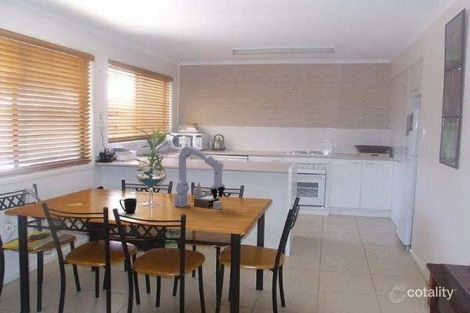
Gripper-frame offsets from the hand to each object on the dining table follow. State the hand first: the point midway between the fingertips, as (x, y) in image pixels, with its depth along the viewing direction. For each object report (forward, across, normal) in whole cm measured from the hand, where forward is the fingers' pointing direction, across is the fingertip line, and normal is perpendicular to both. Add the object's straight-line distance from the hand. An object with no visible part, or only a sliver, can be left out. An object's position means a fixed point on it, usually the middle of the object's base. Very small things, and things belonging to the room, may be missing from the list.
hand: (217, 197), depth 289 cm
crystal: (+8, +19, +28) cm, 34 cm away
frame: (+8, +5, +13) cm, 16 cm away
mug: (+8, -45, +43) cm, 62 cm away
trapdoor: (+3, +5, +12) cm, 13 cm away
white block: (+8, 0, 0) cm, 8 cm away
